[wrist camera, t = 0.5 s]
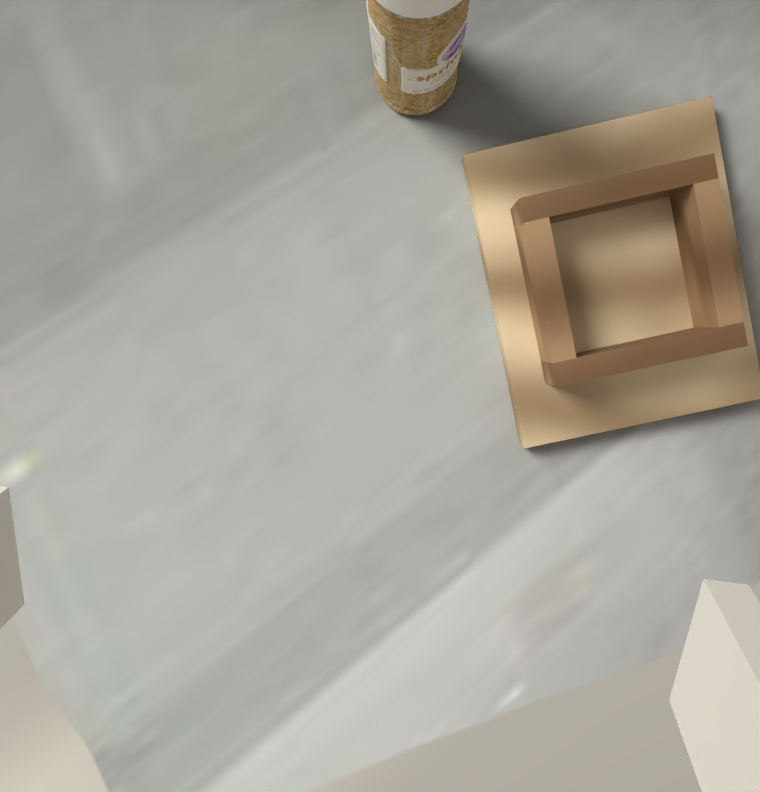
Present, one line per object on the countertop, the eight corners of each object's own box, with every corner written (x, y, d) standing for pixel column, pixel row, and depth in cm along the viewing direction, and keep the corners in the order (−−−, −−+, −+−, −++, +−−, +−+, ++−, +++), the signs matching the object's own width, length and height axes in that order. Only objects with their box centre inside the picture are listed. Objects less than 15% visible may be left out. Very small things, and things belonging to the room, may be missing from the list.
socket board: (462, 160, 37) (469, 138, 33) (701, 104, 36) (740, 74, 32) (520, 444, 38) (534, 458, 34) (753, 396, 38) (796, 404, 33)
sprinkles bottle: (440, 129, 37) (460, 13, 24) (361, 101, 37) (336, -31, 24) (470, 46, 37) (507, -121, 23) (390, 17, 37) (380, -166, 23)
